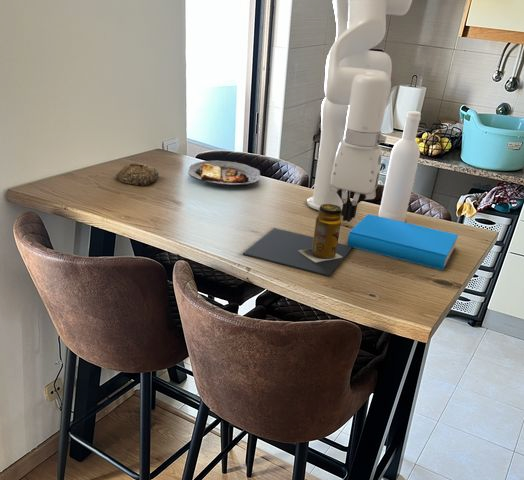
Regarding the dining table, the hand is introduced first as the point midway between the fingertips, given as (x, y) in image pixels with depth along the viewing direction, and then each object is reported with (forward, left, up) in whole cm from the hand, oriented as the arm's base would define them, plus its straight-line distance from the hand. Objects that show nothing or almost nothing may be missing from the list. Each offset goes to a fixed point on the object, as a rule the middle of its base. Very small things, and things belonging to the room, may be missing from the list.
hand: (347, 219), depth 131 cm
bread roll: (-24, -75, -11) cm, 79 cm away
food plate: (-43, -53, -11) cm, 69 cm away
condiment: (0, -5, -10) cm, 12 cm away
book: (-18, +11, -11) cm, 24 cm away
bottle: (-37, +4, -11) cm, 39 cm away
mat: (0, -11, -11) cm, 15 cm away
